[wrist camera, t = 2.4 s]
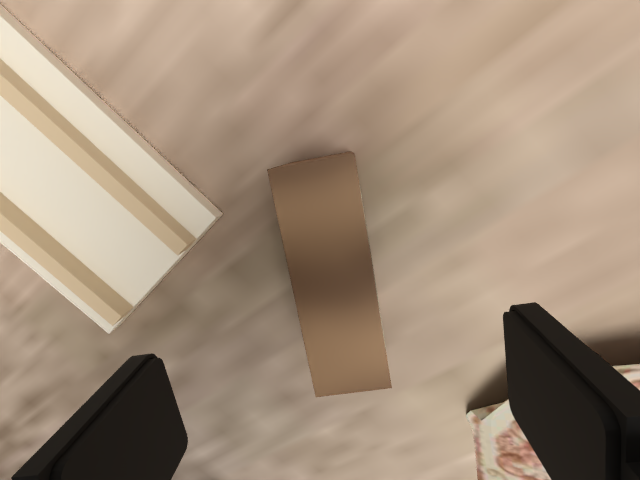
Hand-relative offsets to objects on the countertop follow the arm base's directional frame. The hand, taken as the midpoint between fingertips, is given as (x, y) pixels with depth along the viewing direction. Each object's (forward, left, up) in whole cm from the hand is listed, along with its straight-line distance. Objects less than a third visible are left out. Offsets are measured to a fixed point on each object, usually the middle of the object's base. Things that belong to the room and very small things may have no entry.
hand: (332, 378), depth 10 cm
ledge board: (-10, +17, -16) cm, 25 cm away
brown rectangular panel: (0, 0, -16) cm, 16 cm away
